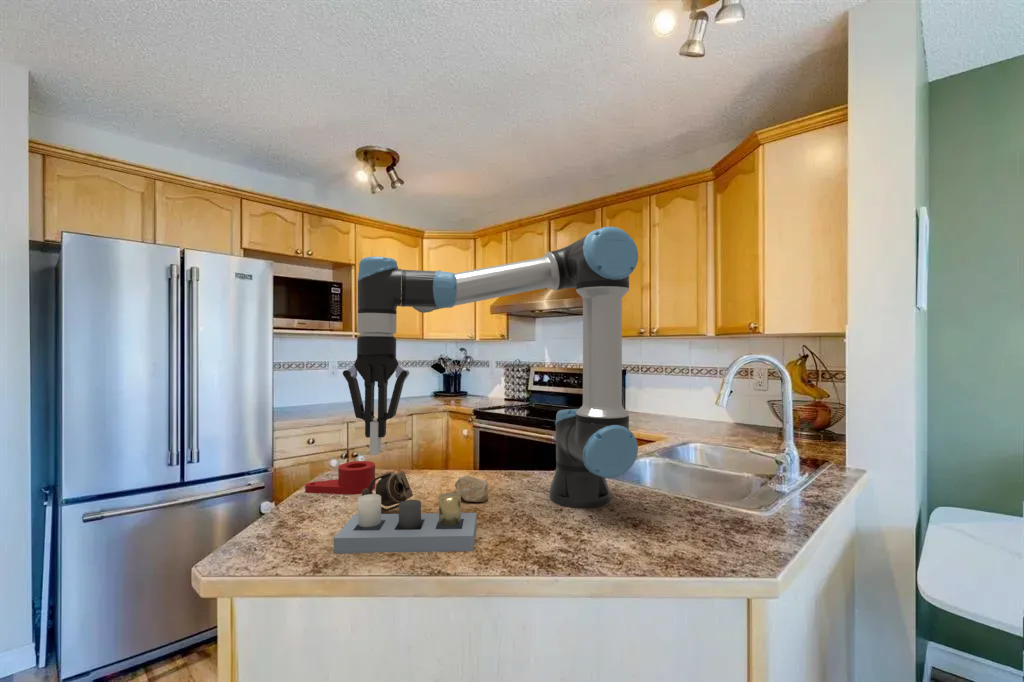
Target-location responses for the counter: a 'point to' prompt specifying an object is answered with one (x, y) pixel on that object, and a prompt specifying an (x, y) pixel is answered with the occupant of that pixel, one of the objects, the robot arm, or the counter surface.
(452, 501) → the gold cylinder
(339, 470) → the lever
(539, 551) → the counter surface
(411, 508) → the dark gray cylinder
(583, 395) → the robot arm
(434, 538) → the grey slotted holder
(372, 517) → the white rounded cylinder
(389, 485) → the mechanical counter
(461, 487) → the stone
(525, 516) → the counter surface
